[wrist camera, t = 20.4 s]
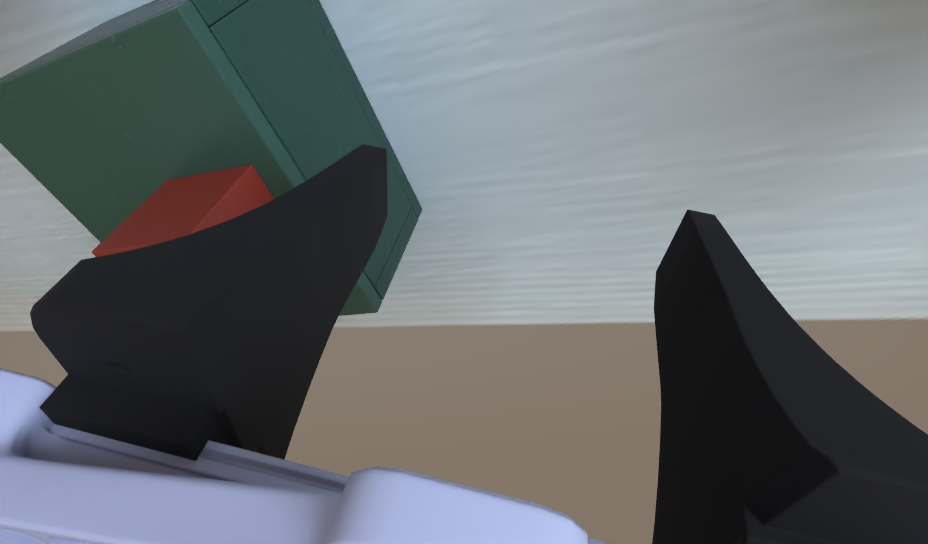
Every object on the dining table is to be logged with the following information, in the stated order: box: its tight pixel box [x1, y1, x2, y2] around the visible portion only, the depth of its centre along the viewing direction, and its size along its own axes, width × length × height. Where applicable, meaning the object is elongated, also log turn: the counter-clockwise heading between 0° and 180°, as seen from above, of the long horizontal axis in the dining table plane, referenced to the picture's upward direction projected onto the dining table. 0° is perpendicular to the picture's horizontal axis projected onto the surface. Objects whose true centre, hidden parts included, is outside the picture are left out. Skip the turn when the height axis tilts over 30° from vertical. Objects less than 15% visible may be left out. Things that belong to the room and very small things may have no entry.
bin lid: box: [0, 1, 382, 316], centre depth 21 cm, size 11×13×1 cm
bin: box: [0, 0, 422, 300], centre depth 23 cm, size 11×13×6 cm
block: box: [92, 165, 274, 257], centre depth 19 cm, size 4×4×4 cm
